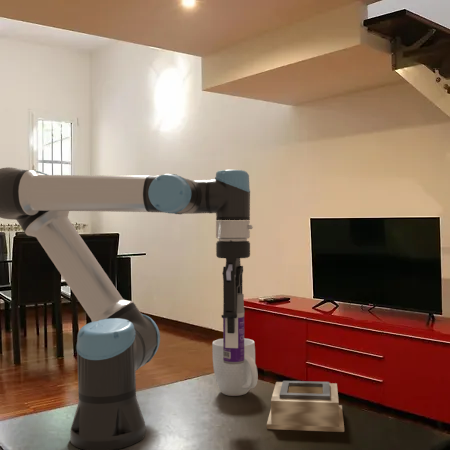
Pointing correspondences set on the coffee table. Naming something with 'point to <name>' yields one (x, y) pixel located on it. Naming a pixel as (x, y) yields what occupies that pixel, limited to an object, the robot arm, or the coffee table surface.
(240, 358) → the container
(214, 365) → the mug
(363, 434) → the coffee table surface
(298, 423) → the socket
